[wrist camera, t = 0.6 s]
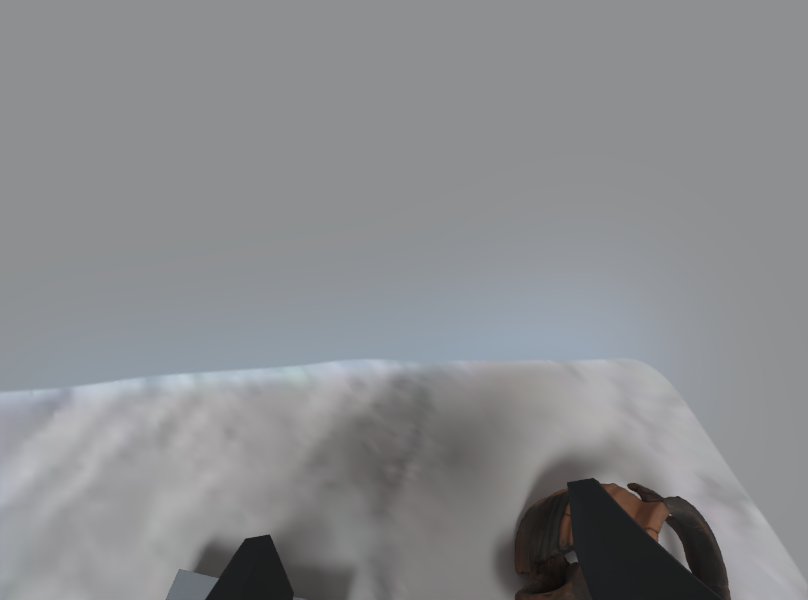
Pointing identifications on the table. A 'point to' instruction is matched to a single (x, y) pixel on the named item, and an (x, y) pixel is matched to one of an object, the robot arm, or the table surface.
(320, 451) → the table surface
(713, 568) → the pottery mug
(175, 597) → the socket
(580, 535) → the robot arm
